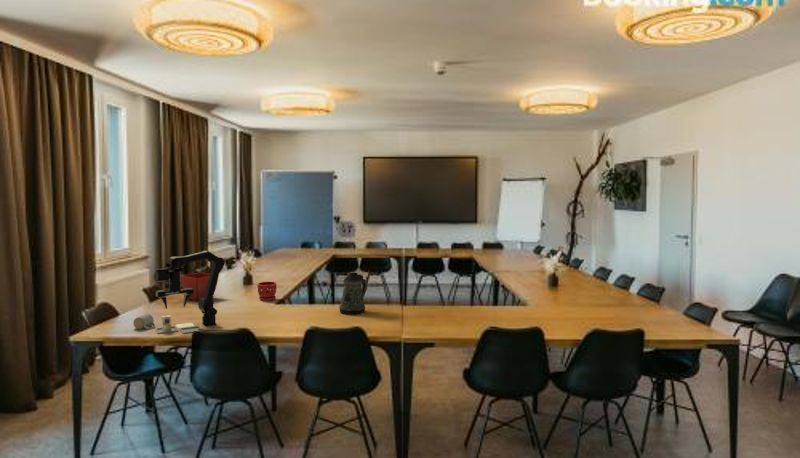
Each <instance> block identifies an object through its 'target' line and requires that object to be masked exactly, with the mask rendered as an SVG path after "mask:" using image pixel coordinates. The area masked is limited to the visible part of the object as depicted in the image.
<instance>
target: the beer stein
mask: <svg viewBox="0 0 800 458" xmlns="http://www.w3.org/2000/svg"><path fill="white" fill-rule="evenodd" d="M342 281H343V289H342V295H341V300H340V304H339V307H338V308H339V312H340V315H341V314H342V315H345V316H358V315H357V314H359V315H362V313H363V314H364V313H365V312H366V305H365V301H364V297H365V295H366V292H367V290H368V283H367V280H366V278H364V276H363V275H361V274H358V273H357V272H350V273H349V275H347V276H346V277H345V278H344V279H343V280H342Z"/></svg>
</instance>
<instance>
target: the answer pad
mask: <svg viewBox="0 0 800 458" xmlns="http://www.w3.org/2000/svg"><path fill="white" fill-rule="evenodd" d="M175 326H176V328H177V329H180V328H187V327H195V325H194V323H193V322H185V323H179V324H175Z"/></svg>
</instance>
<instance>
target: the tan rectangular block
mask: <svg viewBox="0 0 800 458" xmlns="http://www.w3.org/2000/svg"><path fill="white" fill-rule="evenodd" d="M161 321H162V322H161V326H162V327H161V328H162V330H163V332H165V331H171V327H172V316H171V315H170V314H167V315H161Z"/></svg>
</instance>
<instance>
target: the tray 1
mask: <svg viewBox="0 0 800 458" xmlns="http://www.w3.org/2000/svg"><path fill="white" fill-rule="evenodd" d="M154 329H155V331H156V333H157V335H161V334H167V333H168V334H170V333H178V332H179V328H177V327H176V325H171V331H165V332H163V330H162V327H156V328H154Z"/></svg>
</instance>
